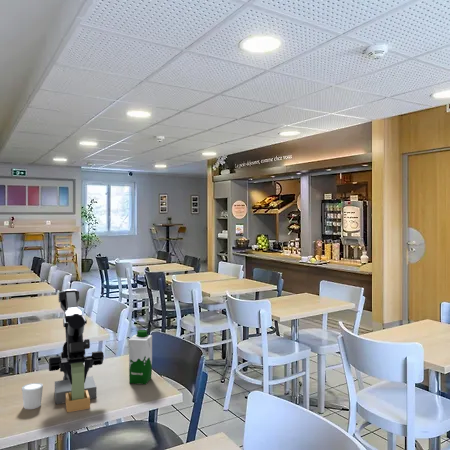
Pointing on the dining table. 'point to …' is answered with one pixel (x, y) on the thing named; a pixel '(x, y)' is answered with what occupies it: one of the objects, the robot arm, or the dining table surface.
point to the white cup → (32, 395)
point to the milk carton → (140, 357)
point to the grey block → (65, 394)
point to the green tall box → (77, 381)
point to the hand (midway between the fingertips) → (77, 383)
